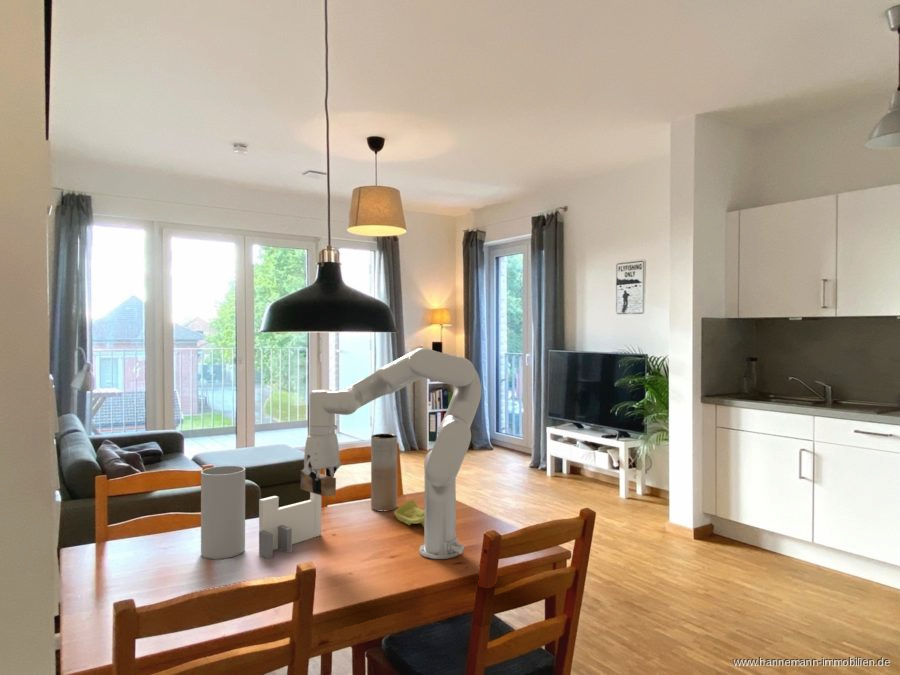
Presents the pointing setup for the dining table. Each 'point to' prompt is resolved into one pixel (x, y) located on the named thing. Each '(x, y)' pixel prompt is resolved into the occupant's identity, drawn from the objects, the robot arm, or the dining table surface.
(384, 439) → the planter
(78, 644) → the dining table surface
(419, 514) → the plastic component
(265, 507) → the headboard
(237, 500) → the cylinder vase
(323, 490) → the rectangular block
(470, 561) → the dining table surface
